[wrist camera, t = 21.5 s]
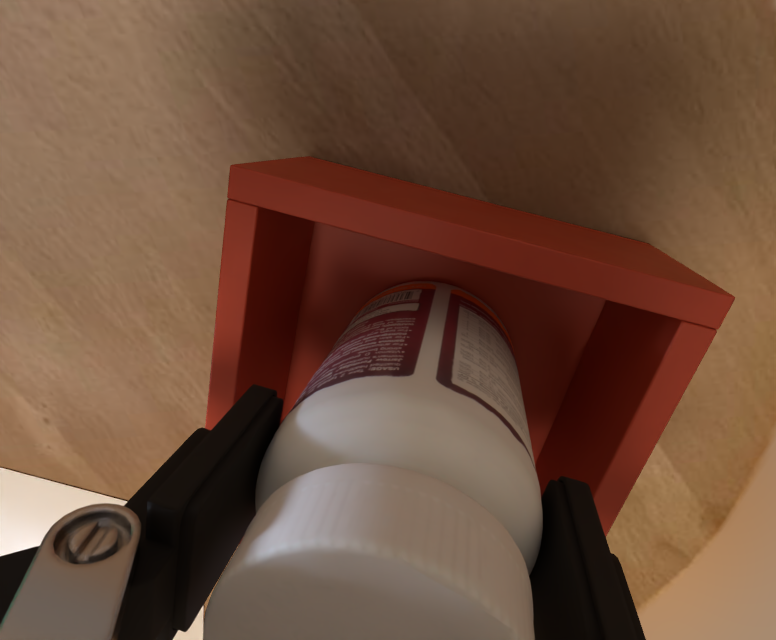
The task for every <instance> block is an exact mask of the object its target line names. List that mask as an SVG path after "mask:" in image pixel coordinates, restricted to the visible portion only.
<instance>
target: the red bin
mask: <svg viewBox="0 0 776 640" xmlns="http://www.w3.org/2000/svg"><path fill="white" fill-rule="evenodd" d="M227 197H228V198H229V199H228V200H227V207H226V218H225V228H224V239H223V249H222V259H221V270H220V280H219V291H218V301H217V311H216V322H215V332H214V342H213V353H212V363H211V374H210V384H209V394H208V405H207V415H206V426H205V429H208V430H212V429H213V428H214V426H215V425H216V424H217V423H218V422H219V421H220V420H221V419H222V418H223V416H224V415H225V414H226V413H227V412H228V411H229V410H230V409H231V408H232V407H233V405H234V404H235V403H236V402H237V401H238V400H239V399H240V398H241V397H242V395H243V394H244V393H245V392H246V391H247V390H248V389H249V388H250V387H251V386H252V385H253V384H256V385H259V386H262V387H266V388H269V389H273V390H276V391H277V397H278V398H281V399H283V408H282V414H281V419H280V424H281V423H282V421H283V419H284V418H285V417H286V416H287V414H288V413H289V411H290V410H291V409H292V408H293V406H294V404H295V403H296V401H297V400H298V398H299V397H300V395H301V393H302V392H303V390H304V389H305V388H306V386H307V384H308V383H309V381H310V380H311V379H312V377H313V375H314V374H315V372H316V371H317V370H318V369H319V367H320V366H321V364H322V363H323V361H324V360H325V359H326V357H327V356H328V354H329V353H330V351H331V350H332V348H333V347H334V345H335V343H336V342H337V341H338V339H339V338H340V336H341V334H342V333H343V331H344V330H345V328H346V327H347V326H348V324H349V323H350V322H351V320H352V319H353V317H354V316H355V315H356V313H357V312H358V311H359V310H360V309H361V308H362V306H364V305H365V304H366V303H367V302H368V301H369V300H370V299H372V298H373V297H375V296H376V295H378V294H379V293H381V292H383V291H384V290H387V289H389V288H391V287H393V286H396V285H400V284H403V283H408V282H413V281H432V282H439V283H445V284H449V285H453V286H456V287H458V288H461V289H463V290H465V291H467V292H470V293H471V294H473V295H474V296H476V297H478V298H479V299H481V300H482V301H483V302H484V303H485V304H487V305H488V306H489V307H490V308H491V309H492V310H493V311H494V312H495V313H496V314H497V316H498V317H499V319H500V320H501V322H502V323H503V325H504V326H505V328H506V330H507V332H508V334H509V337H510V339H511V342H512V345H513V349H514V353H515V358H516V363H517V368H518V374H519V380H520V386H521V392H522V397H523V403H524V408H525V413H526V418H527V424H528V429H529V435H530V440H531V446H532V451H533V457H534V462H535V468H536V472H537V476H538V481H539V485H540V491H541V497H542V495H543V493H544V491H545V489H546V486H547V484H548V482H549V481H550V480H556V481H557V480H558V478H559V477H560V476H565V477H568V478H572V479H575V480H578V481H582V482H585V483H587V484H588V485H589V487H590V490H591V493H592V496H593V500H594V503H595V506H596V509H597V512H598V515H599V518H600V522H601V525H602V528H603V531H604V534H605V537H606V536H607V534H608V532H609V530H610V528H611V526H612V524H613V523H614V521H615V519H616V517H617V515H618V513H619V512H620V510H621V508H622V506H623V504H624V502H625V500H626V499H627V497H628V495H629V493H630V491H631V489H632V488H633V486H634V484H635V482H636V480H637V478H638V476H639V475H640V473H641V471H642V469H643V467H644V465H645V464H646V462H647V460H648V458H649V456H650V454H651V453H652V451H653V449H654V447H655V445H656V443H657V441H658V440H659V438H660V436H661V434H662V432H663V430H664V429H665V427H666V425H667V423H668V421H669V419H670V417H671V416H672V414H673V412H674V410H675V408H676V406H677V405H678V403H679V401H680V399H681V397H682V395H683V394H684V392H685V390H686V388H687V386H688V384H689V382H690V381H691V379H692V377H693V375H694V373H695V371H696V370H697V368H698V366H699V364H700V362H701V360H702V358H703V357H704V355H705V353H706V351H707V349H708V347H709V346H710V344H711V342H712V340H713V338H714V336H715V334H716V333H717V330H716V329H719V327H720V326H721V324H722V322H723V320H724V318H725V316H726V314H727V313H728V311H729V309H730V307H731V305H732V303H733V302H734V300H735V297H734V296H732V295H731V294H729V293H728V292H726V291H724V290H723V289H721V288H720V287H718V286H716V285H715V284H713V283H712V282H710V281H708V280H707V279H705V278H704V277H702V276H700V275H699V274H697V273H695V272H694V271H692V270H691V269H689V268H687V267H686V266H684V265H683V264H681V263H679V262H678V261H676V260H675V259H673V258H671V257H670V256H668V255H667V254H665V253H663V252H662V251H660V250H659V249H657V248H655V247H653V246H652V245H650V244H648V243H644V242H640V241H636V240H632V239H628V238H625V237H621V236H617V235H613V234H609V233H605V232H601V231H597V230H593V229H590V228H586V227H582V226H578V225H574V224H570V223H566V222H562V221H559V220H555V219H551V218H547V217H543V216H539V215H535V214H531V213H527V212H524V211H520V210H516V209H512V208H508V207H504V206H500V205H496V204H493V203H489V202H485V201H481V200H477V199H473V198H469V197H465V196H461V195H458V194H454V193H450V192H446V191H442V190H438V189H434V188H430V187H427V186H423V185H419V184H415V183H411V182H407V181H403V180H399V179H396V178H392V177H388V176H384V175H380V174H376V173H372V172H368V171H364V170H361V169H357V168H353V167H349V166H345V165H341V164H337V163H333V162H330V161H326V160H322V159H318V158H314V157H310V156H307V157H296V158H287V159H279V160H270V161H261V162H252V163H244V164H235V165H231V166H230V175H229V186H228V196H227ZM279 426H280V425H279ZM241 541H242V540H241ZM241 541H240V543H241ZM240 543H239V544H240Z"/></svg>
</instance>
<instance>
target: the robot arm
mask: <svg viewBox="0 0 776 640" xmlns="http://www.w3.org/2000/svg"><path fill="white" fill-rule="evenodd" d="M282 408H283V399H281V398H278V397H277V391H276V390H273V389H269V388H266V387H262V386H259V385H256V384H253V385H252V386H251V387H250V388H249V389H248V390H247V391H246V392H245V393H244V394H243V395H242V397H241V398H240V399H239V400H238V401H237V402H236V403H235V404H234V405H233V407H232V408H231V409H230V410H229V411H228V412H227V413H226V414H225V415H224V416H223V418H222V419H221V420H220V421H219V422H218V423H217V424H216V425H215V426H214V428H213V429H212V430H208V429H205V428H199V429H197V430H196V431H195V432H194V433H193V434H192V435H191V436H190V437H189V438H188V439H187V440H186V441H185V442H184V443H183V444H182V445H181V446H180V447H179V449H178V450H177V451H176V452H175V453H174V454H173V455H172V456H171V457H170V458H169V459H168V460H167V461H166V462H165V463H164V464H163V465H162V466H161V467H160V468H159V469H158V470H157V472H156V473H155V474H154V475H153V476H152V477H151V478H150V479H149V480H148V481H147V482H146V483H145V484H144V485H143V486H142V487H141V488H140V489H139V490H138V491H137V492H136V494H135V495H134V496H133V497H132V498H131V499H130V500H129V501H128V502H127V503H126V504H125V505H124V506H122V505H118V504H110V503H102V504H92V505H89V506H85V507H82V508H79V509H76V510H74V511H72V512H70V513H68V514H66V515H65V516H63V517H62V518H61V519H59V520H58V521H57V522H56V523H54V524H53V525H52V526H51V528H50V529H49V531H48V532H47V533H46V535H45V536H44V538H43V540H42V542H41V544H40V546H36V547H32V548H29V549H25V550H21V551H18V552H14V553H10V554H7V555H3V556H0V640H173V638H174V637H175V635H176V633H177V632H178V630H180V631H183V632H186V631H188V629H189V628H190V627H191V625H192V623H193V622H194V620H195V618H196V617H197V615H198V613H199V611H200V610H201V608H202V606H203V605H204V603H205V601H206V599H207V598H208V596H209V594H210V593H211V591H212V589H213V587H214V586H215V584H216V582H217V581H218V579H219V577H220V576H221V574H222V572H223V570H224V569H225V567H226V565H227V564H228V562H229V560H230V558H231V557H232V555H233V553H234V552H235V550H236V548H237V546H238V545H239V543H240V541H241V540H242V538H243V536H244V534H245V532H246V530H247V528H248V526H249V525H250V523H251V521H252V520H253V518H254V517H255V515H256V507H255V490H256V483H257V478H258V473H259V469H260V466H261V462H262V460H263V457H264V455H265V452H266V450H267V448H268V446H269V444H270V443H271V441H272V439H273V437H274V434H275V432H276V431H277V430H278V428H279V425H280V419H281V414H282ZM541 503H542V511H543V532H542V540H541V546H540V551H539V554H538V557H537V560H536V563H535V565H534V567H533V570H532V572H531V574H530V575H529V578H530V583H531V590H532V599H533V614H534V619H533V624H534V635H535V640H646V639H645V636H644V633H643V630H642V627H641V624H640V621H639V618H638V615H637V612H636V609H635V606H634V603H633V600H632V597H631V594H630V591H629V588H628V585H627V582H626V579H625V576H624V573H623V570H622V567H621V564H620V562H619V560H618V558H617V557H616V556H615V555H614V554H611V553H610V550H609V547H608V544H607V540H606V537H605V534H604V531H603V528H602V525H601V522H600V518H599V515H598V512H597V509H596V506H595V503H594V500H593V496H592V493H591V490H590V487H589V485H588V484H587V483H585V482H582V481H578V480H575V479H572V478H568V477H565V476H560V477H559V478H558V480H557V481H556V480H550V481H549V482H548V484H547V486H546V489H545V491H544V493H543V495H542V497H541Z"/></svg>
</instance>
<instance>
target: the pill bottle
mask: <svg viewBox="0 0 776 640" xmlns="http://www.w3.org/2000/svg"><path fill="white" fill-rule="evenodd" d="M255 507H256V515H255V517H254V518H253V520H252V521H251V523H250V525H249V526H248V528H247V530H246V532H245V534H244V536H243V538H242V541H241V543H240V544H239V546H238V548H237V550H236V551H235V553H234V555H233V557H232V558H231V560H230V562H229V563H228V565H227V567H226V568H225V570H224V572H223V573H222V575H221V577H220V579H219V581H218V583H217V585H216V586H215V588H214V590H213V592H212V595H211V597H210V600H209V603H208V606H207V609H206V612H205V618H204V625H203V628H204V630H203V639H204V640H535V635H534V624H533V619H534V614H533V599H532V590H531V583H530V578H529V575H530V574H531V572H532V570H533V567H534V565H535V563H536V560H537V557H538V554H539V551H540V546H541V540H542V532H543V511H542V503H541V491H540V485H539V481H538V476H537V472H536V468H535V462H534V457H533V451H532V446H531V440H530V435H529V429H528V424H527V418H526V413H525V408H524V403H523V397H522V392H521V386H520V380H519V374H518V368H517V363H516V358H515V353H514V349H513V345H512V342H511V339H510V337H509V334H508V332H507V330H506V328H505V326H504V325H503V323H502V322H501V320H500V319H499V317H498V316H497V314H496V313H495V312H494V311H493V310H492V309H491V308H490V307H489V306H488V305H487V304H485V303H484V302H483V301H482V300H481V299H479V298H478V297H476V296H474V295H473V294H471V293H470V292H467V291H465V290H463V289H461V288H458V287H456V286H453V285H449V284H445V283H439V282H432V281H413V282H408V283H403V284H400V285H396V286H393V287H391V288H389V289H387V290H384V291H383V292H381V293H379V294H378V295H376V296H375V297H373V298H372V299H370V300H369V301H368V302H367V303H366V304H365V305H364V306H362V308H361V309H360V310H359V311H358V312H357V313H356V315H355V316H354V317H353V319H352V320H351V322H350V323H349V324H348V326H347V327H346V328H345V330H344V331H343V333H342V334H341V336H340V338H339V339H338V341H337V342H336V343H335V345H334V347H333V348H332V350H331V351H330V353H329V354H328V356H327V357H326V359H325V360H324V361H323V363H322V364H321V366H320V367H319V369H318V370H317V371H316V372H315V374H314V375H313V377H312V379H311V380H310V381H309V383H308V384H307V386H306V388H305V389H304V390H303V392H302V393H301V395H300V397H299V398H298V400H297V401H296V403H295V404H294V406H293V408H292V409H291V410H290V411H289V413H288V414H287V416H286V417H285V418H284V419H283V421H282V423H281V424H280V426H279V428H278V430H277V431H276V432H275V434H274V437H273V439H272V441H271V443H270V444H269V446H268V448H267V450H266V452H265V455H264V457H263V460H262V462H261V466H260V469H259V473H258V478H257V483H256V490H255Z"/></svg>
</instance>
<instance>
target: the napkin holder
mask: <svg viewBox="0 0 776 640" xmlns="http://www.w3.org/2000/svg"><path fill="white" fill-rule="evenodd" d="M102 503H110V504H118V505H122V506H124V505H125V504H126V503H127V501H124V500H120V499H116V498H112V497H109V496H105V495H101V494H98V493H94V492H90V491H86V490H83V489H79V488H75V487H71V486H68V485H64V484H60V483H56V482H53V481H49V480H45V479H41V478H38V477H34V476H30V475H26V474H23V473H19V472H15V471H11V470H8V469H4V468H0V556H3V555H7V554H10V553H14V552H18V551H21V550H25V549H29V548H32V547H36V546H40V544H41V542H42V540H43V538H44V536H45V535H46V533H47V532H48V531H49V529H50V528H51V526H52V525H53V524H54V523H56V522H57V521H58V520H59V519H61V518H62V517H63V516H65V515H66V514H68V513H70V512H72V511H74V510H76V509H79V508H82V507H85V506H89V505H92V504H102ZM203 612H204V605H203V606H202V608H201V610H200V611H199V613H198V615H197V617H196V618H195V620H194V622H193V623H192V625H191V627H190V628H189V629H188V631H186V632H183V631H180V630H178V632H177V633H176V635H175V637H174V638H173V640H203Z"/></svg>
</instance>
